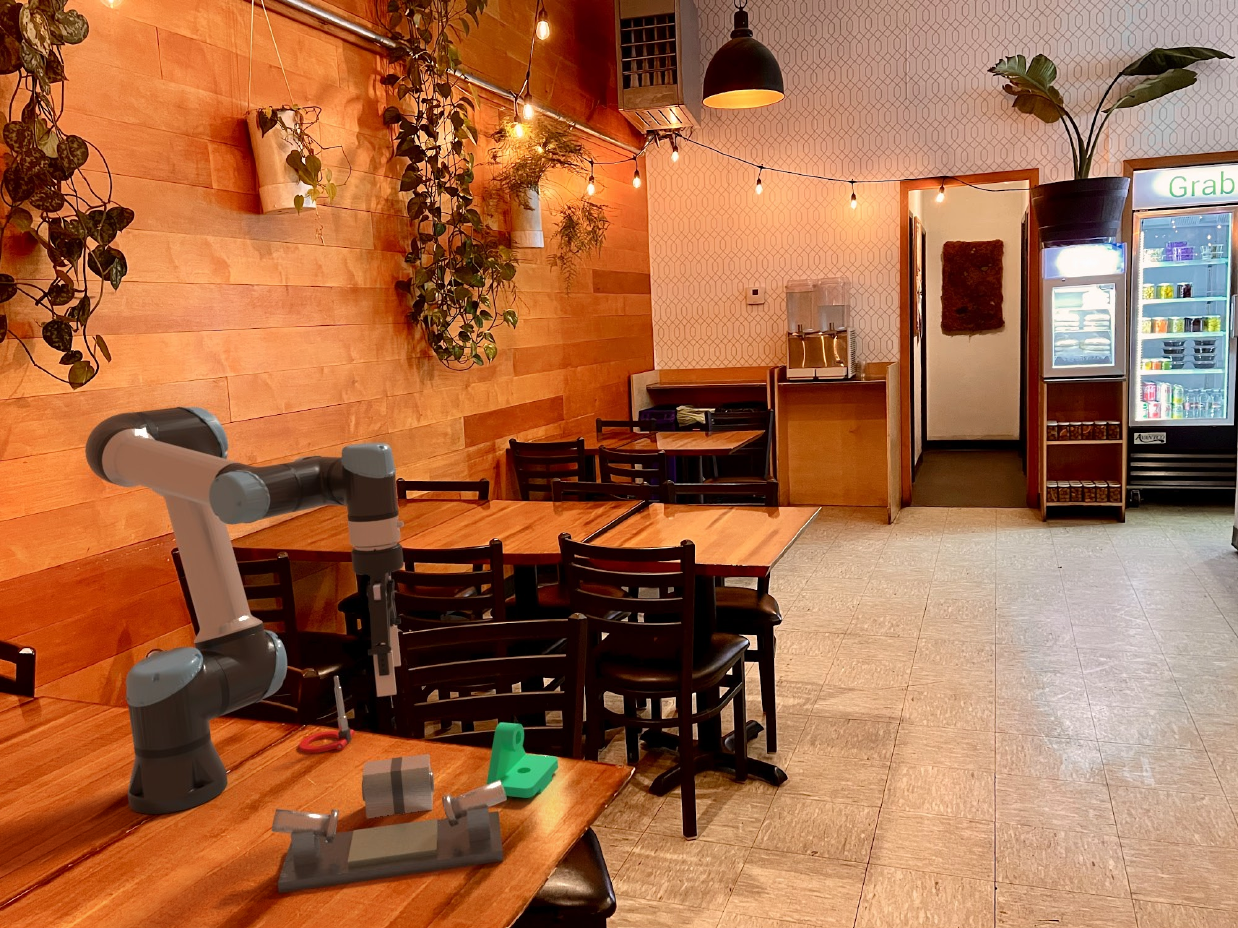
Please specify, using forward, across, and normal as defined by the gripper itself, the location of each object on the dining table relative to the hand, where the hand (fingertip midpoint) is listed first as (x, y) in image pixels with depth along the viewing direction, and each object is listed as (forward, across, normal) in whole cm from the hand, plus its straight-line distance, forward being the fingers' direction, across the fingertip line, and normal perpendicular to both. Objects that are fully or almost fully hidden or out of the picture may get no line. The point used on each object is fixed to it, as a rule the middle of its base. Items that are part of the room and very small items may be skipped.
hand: (389, 679), depth 153 cm
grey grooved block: (+21, 0, 0) cm, 21 cm away
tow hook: (+21, +30, +15) cm, 40 cm away
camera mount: (+21, +2, -20) cm, 29 cm away
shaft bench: (+21, -15, 0) cm, 26 cm away
